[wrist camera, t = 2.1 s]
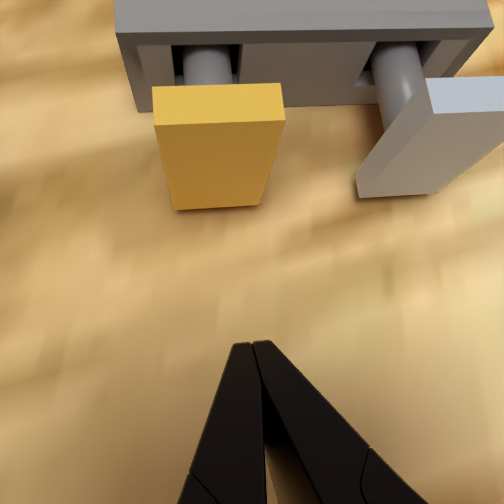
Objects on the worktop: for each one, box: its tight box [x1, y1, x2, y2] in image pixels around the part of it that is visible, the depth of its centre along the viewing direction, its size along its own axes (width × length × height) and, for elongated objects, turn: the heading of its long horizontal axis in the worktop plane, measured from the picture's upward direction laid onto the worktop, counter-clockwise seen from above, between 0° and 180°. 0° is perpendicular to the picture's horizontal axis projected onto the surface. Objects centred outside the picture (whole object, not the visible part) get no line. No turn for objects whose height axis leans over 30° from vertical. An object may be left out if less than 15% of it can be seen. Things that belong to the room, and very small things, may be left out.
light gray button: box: [355, 41, 504, 198], centre depth 21 cm, size 10×4×8 cm, turn 6°
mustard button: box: [152, 44, 286, 210], centre depth 19 cm, size 10×4×8 cm, turn 6°
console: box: [114, 0, 494, 112], centre depth 24 cm, size 9×18×6 cm, turn 96°
